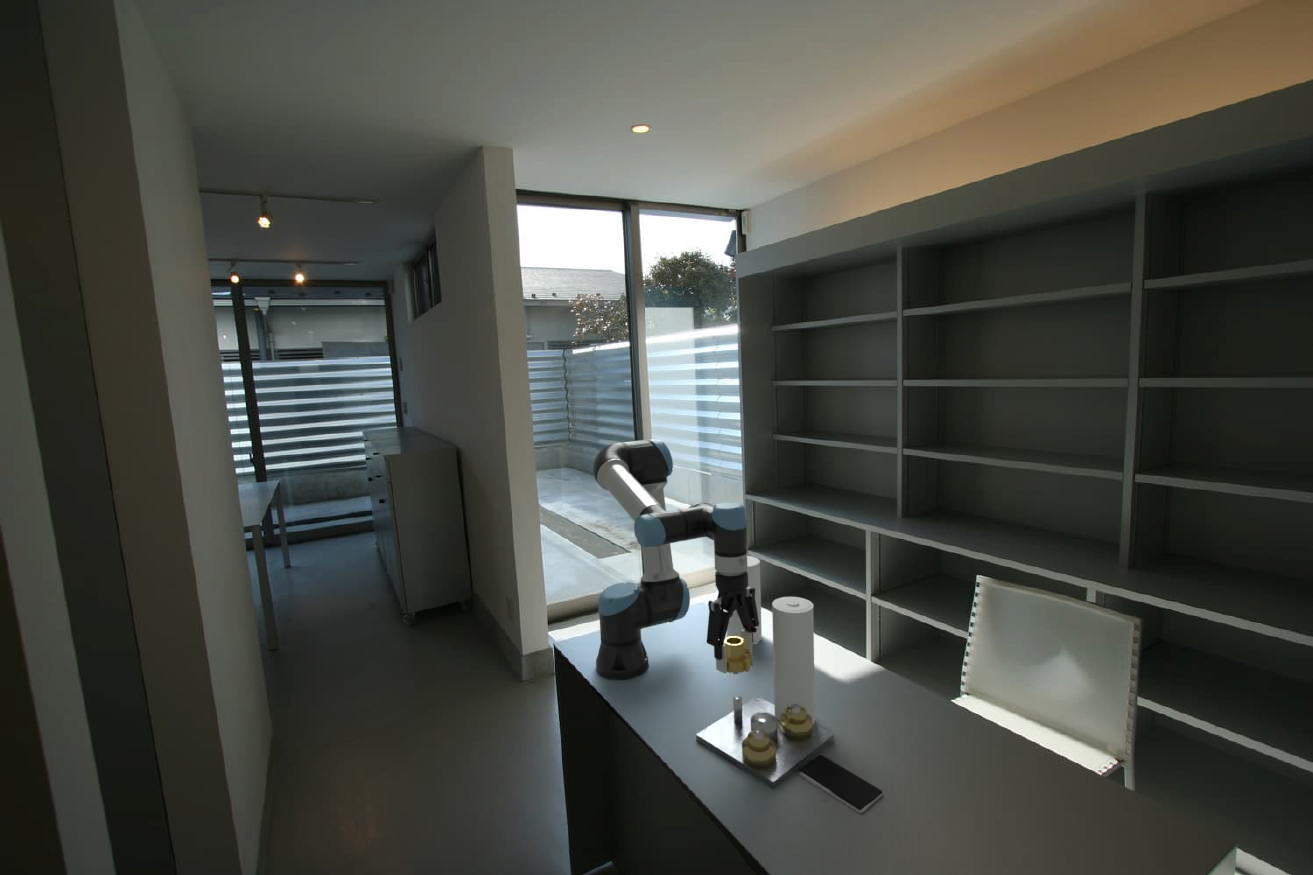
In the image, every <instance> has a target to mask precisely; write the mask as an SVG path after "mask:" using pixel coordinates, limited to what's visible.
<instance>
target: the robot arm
mask: <svg viewBox="0 0 1313 875" xmlns="http://www.w3.org/2000/svg"><path fill="white" fill-rule="evenodd" d="M673 468H674V462H673V457H672V454H671V451H670V449H669V447H668V446H667V445H666V444H665V442H664V441H662V440H660V439H650V438H649V439H641V440H633V441H625V442H614V443H611V444H608V445H606V446H605V447H603V448H602V449H601V450H600V451H599V452H598V453H597V455H596V457H595V458H594V461H593V466H592V473H593V478H594V480H595V481H596V483H597V485H599V486H600V488H601V489H603V490H605V491H608V492H609V493H610V494H611V496H613V497H614V499H615V500H616V501H617V502H618V503H619V505H620V506H621V507H622V508H623V509H624V510H625V511H626V513H627V514H628V516H630V518H631V519H632V520H633V522H634V524H633V529H634V537H635V538H636V541H637V543H638V544H639V546H641V554H642V560H643V569H644V573H643V575H642V576H641V577H640V586H638V584H636V583H634V582H628V581H627V582H618V583H615V584H611V585H609V586H607V587H606V588H605V589H603V591H602V592H600V594H599V597H598V608H597V609H598V615H599V628H600V629H599V630H600V631H599V634H600V645H599V649H598V652H597V657H596V660H595V670H596V672H597V674H598V675H600V676H602V677H603V678H606V679H609V680H629V679H633V678H637V677H638V676H640V675H642V674H644V673H645V672H646V671H647V670H648V668H649V665H650V664H649V656H648V653H647V651H646V648H645V645H644V642H643V640H642V629H646V628H650V627H654V626H659V625H663V624H667V623H673V622H675V621H678V620H680V619H683V618H684V617H685V616H686V615H687V613H688V611H689V609H690V606H691V604H690V603H691V597H690V596H691V594H690V590H689V587H688V583H687V581H686V580H684V579H683V578H681V577H680V573H679V572H678V571H676V569H674V564H673V557H672V556H673V554H672V548H671V544H674V543H679V542H686V541H691V540H695V539H701V538H708V539H710V540H712V541H713V547H714V548H713V549H714V552H713V553H714V570H715V574H714V576H715V579H714V580H715V587H716V589H717V591H718V593H717V598H716V599H715V600H709V601H708V602H707V605H708V612H709V613H708V621H707V622H708V623H707V630H706V631H707V633H706V643H707V644H708V645H710V646H713V652H714V653H713V654H714V655H713V656H714V659H715V666H716V667H715V668H716V669H715V670H717V671H718V672H721V673H722V674H727V673H728V672H727V653H726V645H724V640H725V638H726V637H727V628H728V624H729V620H730V617H732V615H733V612H734V611H735V610H736V611H737V613H738V615H739V618H740V620H741V623H742V625H743V628H744V629H745V630H741V638H743V639H744V649H747V650H748V652H749V654H752V660H753V658H754V656H753V645H752V643H753V632H754V633H755V632H756V631H757V628H755V627H758V626H759V619H758V613H757V607H756V601H755V588H752V587H749V586H748V572H747V571H746V570H747V569H748V568H747V556H748V531H747V530H748V527H747V525H748V520H747V514H746V507H745V506H744V505H743V504H741V503H738V502H732V501H731V502H729V501H728V502H720V503H717V504H715V505H713V504H711V503H707V502H700V501H698V502H694V503H693V504H691V505H690V506H688V507H686V508H685V507H684V508H681V509H679V508H678V509H674V510H666V509H667V506H666V500H665V499H666V498H665V493H664V488H665V487H666V485H667V484H668V477H670V476H671V475H672V473H673ZM726 611H728V612H726ZM753 619H754V620H753Z"/></svg>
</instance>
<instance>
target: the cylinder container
mask: <svg viewBox="0 0 1313 875" xmlns="http://www.w3.org/2000/svg"><path fill="white" fill-rule="evenodd" d="M771 608H772V609H771V610H772V654H773V655H772V656H773V661H772V662H773V698H774V699H773V701H774V709H775V716H776V718H777V719H778V720H779V721H780V716H781V714H782V713H784V714H786V708H787V707H791V706H792V705H793V704H797V705H799V706H800V708H805V710H806V715H807V714H809V715H810V716H811V718H812V724H814V725H816V724H815V722H816V716H815V715H816V714H815V713H816V712H815V708H816V707H815V706H816V705H815V704H816V702H815V701H816V700H815V639H814V638H815V636H814V635H815V634H814V633H815V632H814V630H815V629H814V628H815V627H814V626H815V625H814V603H813V602H812V601H810V600H809V599H806V598H803V597H799V596H782V597H779V598H775V599H774V600H773V601H772V603H771Z"/></svg>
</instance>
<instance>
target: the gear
mask: <svg viewBox="0 0 1313 875" xmlns="http://www.w3.org/2000/svg"><path fill="white" fill-rule="evenodd" d="M724 645H726V653H727V673H731V674H733V675H739V674H742V673H744V672H745V673H748V672H750V671H751V667H753V659H752V654H753V653H752V654H749V652H748V650H747V649H744V639H743V638H740V637H738V636H729V637H727V636H726V637H725V640H724Z"/></svg>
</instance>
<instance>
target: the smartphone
mask: <svg viewBox="0 0 1313 875" xmlns="http://www.w3.org/2000/svg"><path fill="white" fill-rule="evenodd" d="M798 775H799V776H800V777H802V778H803V779H805V780H806V781H807V782H809V783H811V784H812V785H814V786H815V787H817V788H819V789H821V790H823V791H824V792H826V793H827V794H829V795H831V796H832V797H834V798H835V799H837V800H838V801H840V802H841V803H842V804H844V805H846V806H848V807H849V808H851V809H853V810H854V811H856V812H857V813H859V814H863V813H864V812H865V811H867V810H868V809H869V807H871V806H872V805H874V803H876V801H878V800H879V799H880V798H881V797H882V796H883V793H884V792H883V791H882V789H880V788H879V787H876V786H875V785H873V784H872V783H869V782H868V781H866V779H863V778H862V777H860V776H858V775H856V774H854V773H853V772H852V771H849V770H848V769H846V768H844V767H843V766H841V765H839V764H837V763H836V762H834V761H833V760H831V759H829V758H828V757H826V756H824V755H822V754H818V755H816V756H814V757H813V758H812V759H810V760H809V761H808V762H806V763H805V764H804V765H803V766H801V767H800V768H799V769H798Z"/></svg>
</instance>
